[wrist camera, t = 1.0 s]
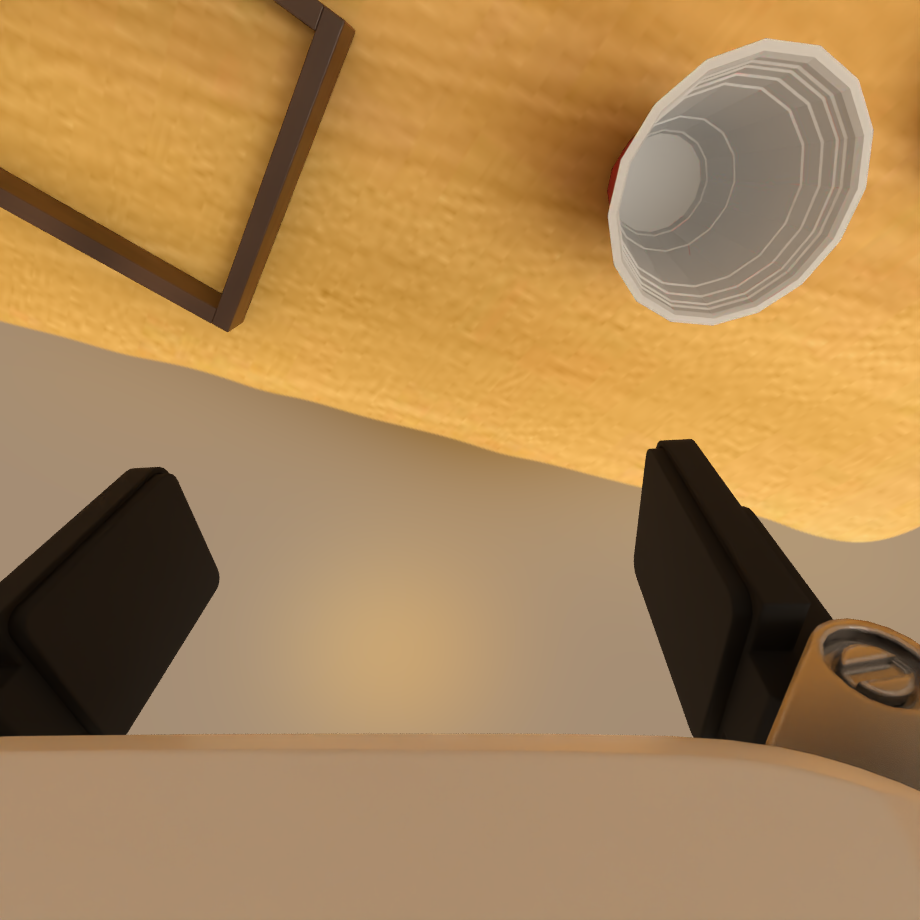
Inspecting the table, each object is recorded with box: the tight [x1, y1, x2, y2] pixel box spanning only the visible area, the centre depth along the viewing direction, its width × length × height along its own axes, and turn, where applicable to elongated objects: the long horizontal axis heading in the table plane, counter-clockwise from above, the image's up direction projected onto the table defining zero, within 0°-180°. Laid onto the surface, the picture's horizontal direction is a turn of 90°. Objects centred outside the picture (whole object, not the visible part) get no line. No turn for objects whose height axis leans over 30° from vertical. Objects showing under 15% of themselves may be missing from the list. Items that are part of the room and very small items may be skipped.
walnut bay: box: [0, 0, 355, 332], centre depth 29 cm, size 18×19×2 cm
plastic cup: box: [607, 38, 874, 326], centre depth 26 cm, size 11×11×12 cm
